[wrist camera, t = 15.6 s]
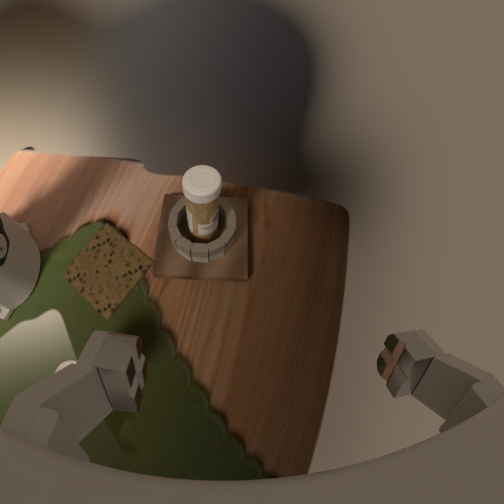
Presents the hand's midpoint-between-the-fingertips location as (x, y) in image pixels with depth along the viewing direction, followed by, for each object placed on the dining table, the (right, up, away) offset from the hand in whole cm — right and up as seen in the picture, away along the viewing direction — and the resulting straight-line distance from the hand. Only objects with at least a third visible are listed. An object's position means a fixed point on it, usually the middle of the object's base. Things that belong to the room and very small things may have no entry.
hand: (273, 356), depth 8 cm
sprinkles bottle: (-8, +6, +35) cm, 36 cm away
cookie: (-24, 0, +32) cm, 40 cm away
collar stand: (-9, +6, +36) cm, 37 cm away
